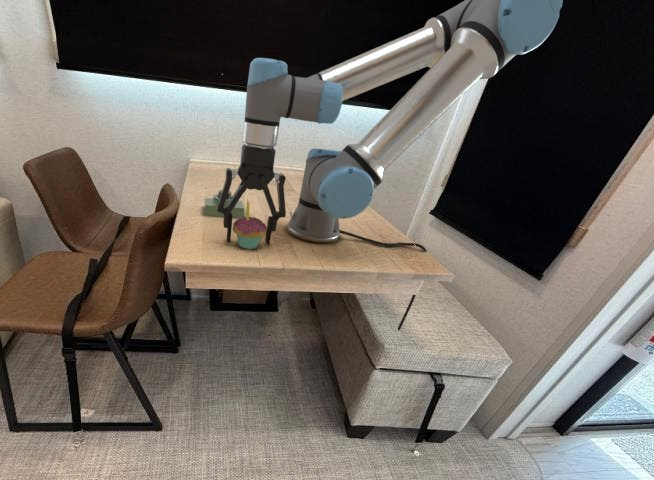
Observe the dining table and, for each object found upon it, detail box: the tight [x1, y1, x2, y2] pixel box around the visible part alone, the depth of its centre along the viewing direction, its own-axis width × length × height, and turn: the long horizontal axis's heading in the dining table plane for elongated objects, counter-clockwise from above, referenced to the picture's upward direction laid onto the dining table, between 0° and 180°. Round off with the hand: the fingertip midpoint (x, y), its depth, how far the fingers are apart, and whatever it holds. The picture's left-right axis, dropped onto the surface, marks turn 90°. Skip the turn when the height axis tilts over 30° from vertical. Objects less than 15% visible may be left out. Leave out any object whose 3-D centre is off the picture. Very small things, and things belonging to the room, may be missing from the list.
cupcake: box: [232, 198, 267, 250], centre depth 81 cm, size 9×8×12 cm
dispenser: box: [204, 193, 245, 219], centre depth 103 cm, size 12×8×5 cm, turn 97°
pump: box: [217, 189, 232, 199], centre depth 101 cm, size 4×4×2 cm
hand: (248, 241), depth 84 cm, fingers open, 9 cm apart
